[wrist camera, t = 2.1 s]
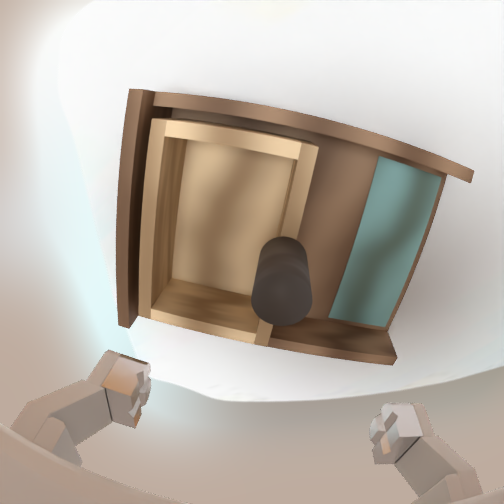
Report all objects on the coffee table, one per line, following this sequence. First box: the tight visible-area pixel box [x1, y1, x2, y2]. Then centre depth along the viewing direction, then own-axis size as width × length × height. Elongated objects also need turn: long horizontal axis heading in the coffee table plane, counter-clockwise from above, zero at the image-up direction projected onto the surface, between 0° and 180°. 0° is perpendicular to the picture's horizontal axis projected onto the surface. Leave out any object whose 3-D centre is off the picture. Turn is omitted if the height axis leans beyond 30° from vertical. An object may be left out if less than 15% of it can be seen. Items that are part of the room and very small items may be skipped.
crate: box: [139, 118, 319, 347], centre depth 20 cm, size 11×14×11 cm
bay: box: [116, 89, 474, 365], centre depth 23 cm, size 24×18×7 cm
